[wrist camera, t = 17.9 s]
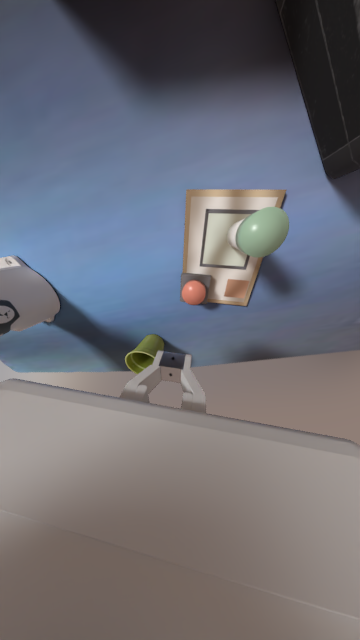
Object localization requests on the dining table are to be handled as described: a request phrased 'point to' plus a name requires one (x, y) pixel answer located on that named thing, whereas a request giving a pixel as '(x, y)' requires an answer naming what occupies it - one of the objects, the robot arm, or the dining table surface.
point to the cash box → (328, 74)
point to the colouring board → (221, 242)
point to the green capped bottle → (259, 232)
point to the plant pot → (144, 353)
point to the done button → (193, 292)
